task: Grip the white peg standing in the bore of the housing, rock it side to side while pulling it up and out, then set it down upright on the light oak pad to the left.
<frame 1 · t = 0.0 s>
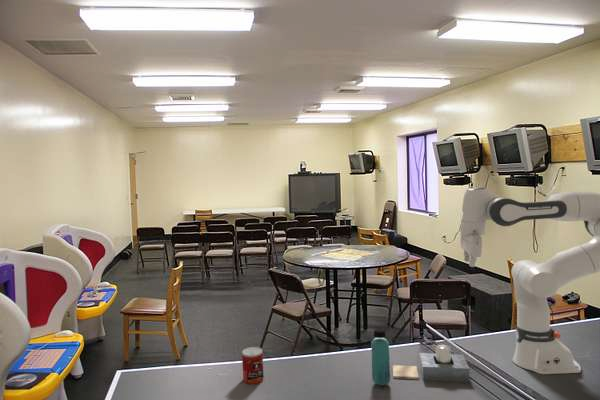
hand: (469, 263, 169), 39 cm above the table, tool pointing down, fingers open, 8 cm apart
housing: (443, 373, 161), on the table
oak pad: (405, 373, 163), on the table
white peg: (443, 360, 161), in the housing
canned food: (253, 380, 162), on the table
beverage bottle: (381, 385, 154), on the table
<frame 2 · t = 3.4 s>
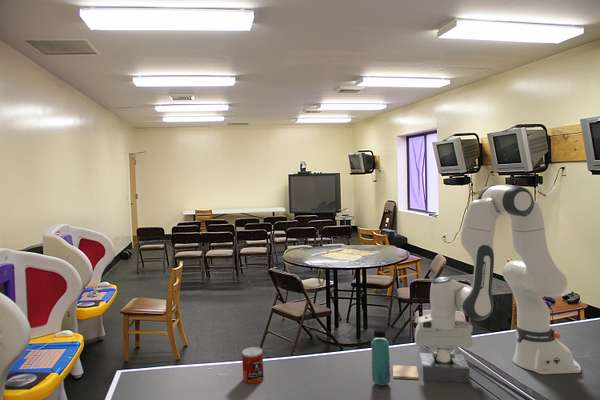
hand: (443, 357, 161), 6 cm above the table, tool pointing down, fingers closed on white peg, 5 cm apart
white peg: (443, 360, 161), in the housing, touching gripper
everything else where it was.
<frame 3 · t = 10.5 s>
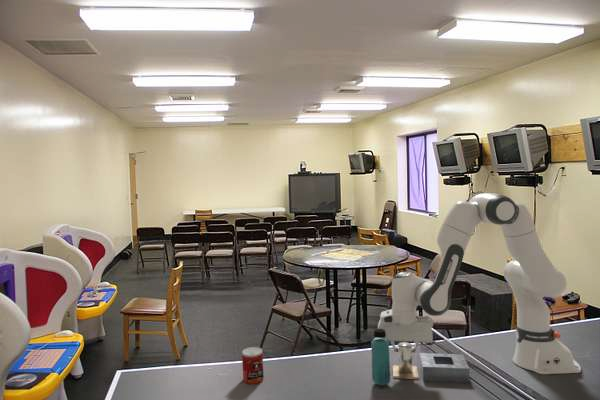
hand: (404, 351, 162), 8 cm above the table, tool pointing down, fingers closed on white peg, 5 cm apart
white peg: (405, 358, 162), on the oak pad, point 6 cm above the table, touching gripper
everything else where it was.
when the fingers open (8 cm above the table, at t = 10.5 s): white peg stays where it is, resting on oak pad.
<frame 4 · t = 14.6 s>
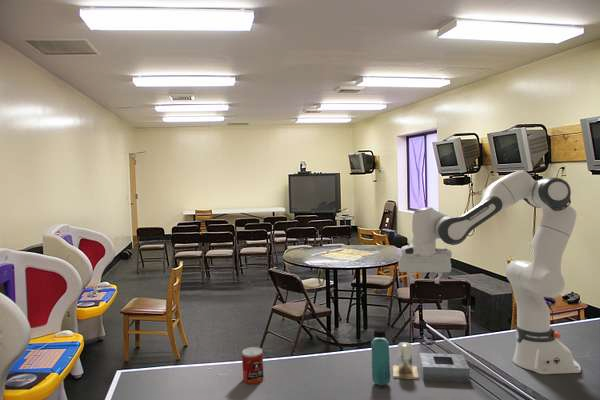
hand: (424, 283, 172), 31 cm above the table, tool pointing down, fingers open, 8 cm apart
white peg: (405, 358, 162), on the oak pad, point 6 cm above the table
everything else where it was.
at the end: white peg inside the target area (0.1 cm from its centre), point 5.8 cm above the table; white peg tilted 0°; the gripper is holding nothing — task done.
